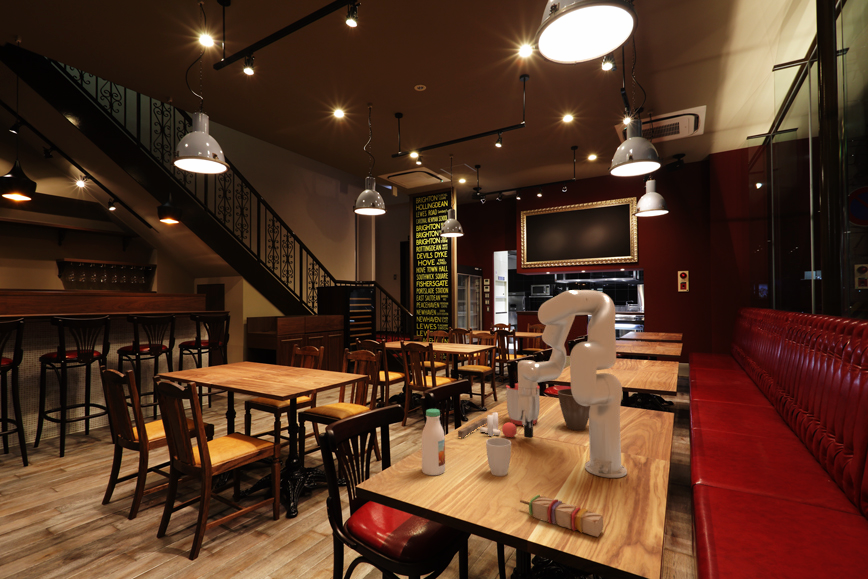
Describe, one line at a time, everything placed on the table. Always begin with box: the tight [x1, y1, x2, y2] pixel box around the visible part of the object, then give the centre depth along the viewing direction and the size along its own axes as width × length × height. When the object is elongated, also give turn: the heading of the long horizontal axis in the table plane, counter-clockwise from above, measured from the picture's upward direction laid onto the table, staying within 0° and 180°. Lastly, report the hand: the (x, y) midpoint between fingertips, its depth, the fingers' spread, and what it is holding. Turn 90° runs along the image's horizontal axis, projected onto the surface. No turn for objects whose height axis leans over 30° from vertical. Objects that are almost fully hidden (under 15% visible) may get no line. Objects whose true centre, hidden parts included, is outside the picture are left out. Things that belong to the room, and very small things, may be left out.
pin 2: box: [491, 411, 499, 430], centre depth 176 cm, size 2×2×8 cm
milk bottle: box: [421, 408, 446, 476], centre depth 135 cm, size 8×8×20 cm
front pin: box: [479, 427, 501, 436], centre depth 174 cm, size 2×2×8 cm
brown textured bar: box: [457, 417, 487, 439], centre depth 178 cm, size 24×2×3 cm, turn 147°
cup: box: [485, 437, 512, 477], centre depth 133 cm, size 8×8×10 cm
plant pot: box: [557, 388, 590, 432], centre depth 181 cm, size 15×15×16 cm
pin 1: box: [486, 414, 494, 437], centre depth 171 cm, size 2×2×8 cm
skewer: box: [519, 494, 604, 538], centre depth 102 cm, size 21×6×5 cm, turn 51°
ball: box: [501, 421, 518, 438], centre depth 170 cm, size 6×6×6 cm
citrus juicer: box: [505, 382, 541, 426], centre depth 192 cm, size 16×17×20 cm
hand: (528, 437), depth 165 cm, fingers closed
